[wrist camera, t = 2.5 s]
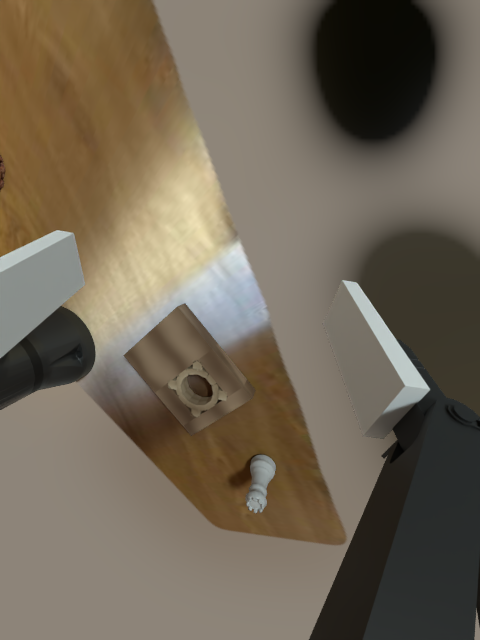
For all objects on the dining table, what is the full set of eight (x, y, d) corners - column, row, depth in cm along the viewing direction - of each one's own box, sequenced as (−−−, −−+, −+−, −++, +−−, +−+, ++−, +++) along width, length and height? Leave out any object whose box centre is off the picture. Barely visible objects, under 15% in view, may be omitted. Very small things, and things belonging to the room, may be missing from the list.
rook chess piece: (281, 468, 44) (276, 513, 37) (261, 477, 46) (252, 521, 38) (266, 449, 44) (257, 490, 36) (246, 458, 45) (234, 499, 38)
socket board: (196, 426, 46) (191, 435, 44) (132, 350, 45) (123, 355, 43) (255, 389, 41) (252, 398, 39) (185, 303, 40) (177, 306, 38)
